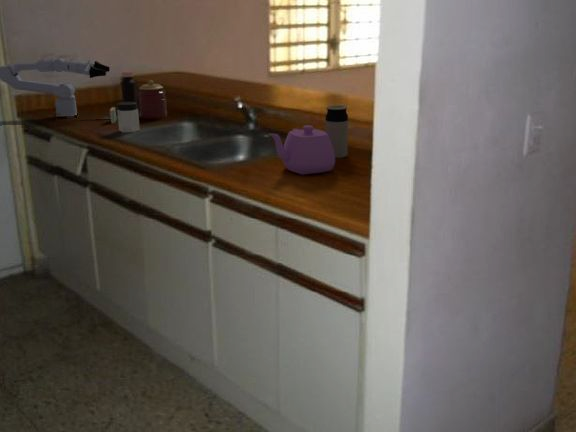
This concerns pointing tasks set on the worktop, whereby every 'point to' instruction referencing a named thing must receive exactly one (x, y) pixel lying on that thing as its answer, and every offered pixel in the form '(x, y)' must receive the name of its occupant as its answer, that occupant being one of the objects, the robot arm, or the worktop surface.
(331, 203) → the worktop surface
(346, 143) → the travel mug
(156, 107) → the canister
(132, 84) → the bottle
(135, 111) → the jar
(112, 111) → the tile
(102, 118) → the mat
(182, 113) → the worktop surface
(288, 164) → the teapot
